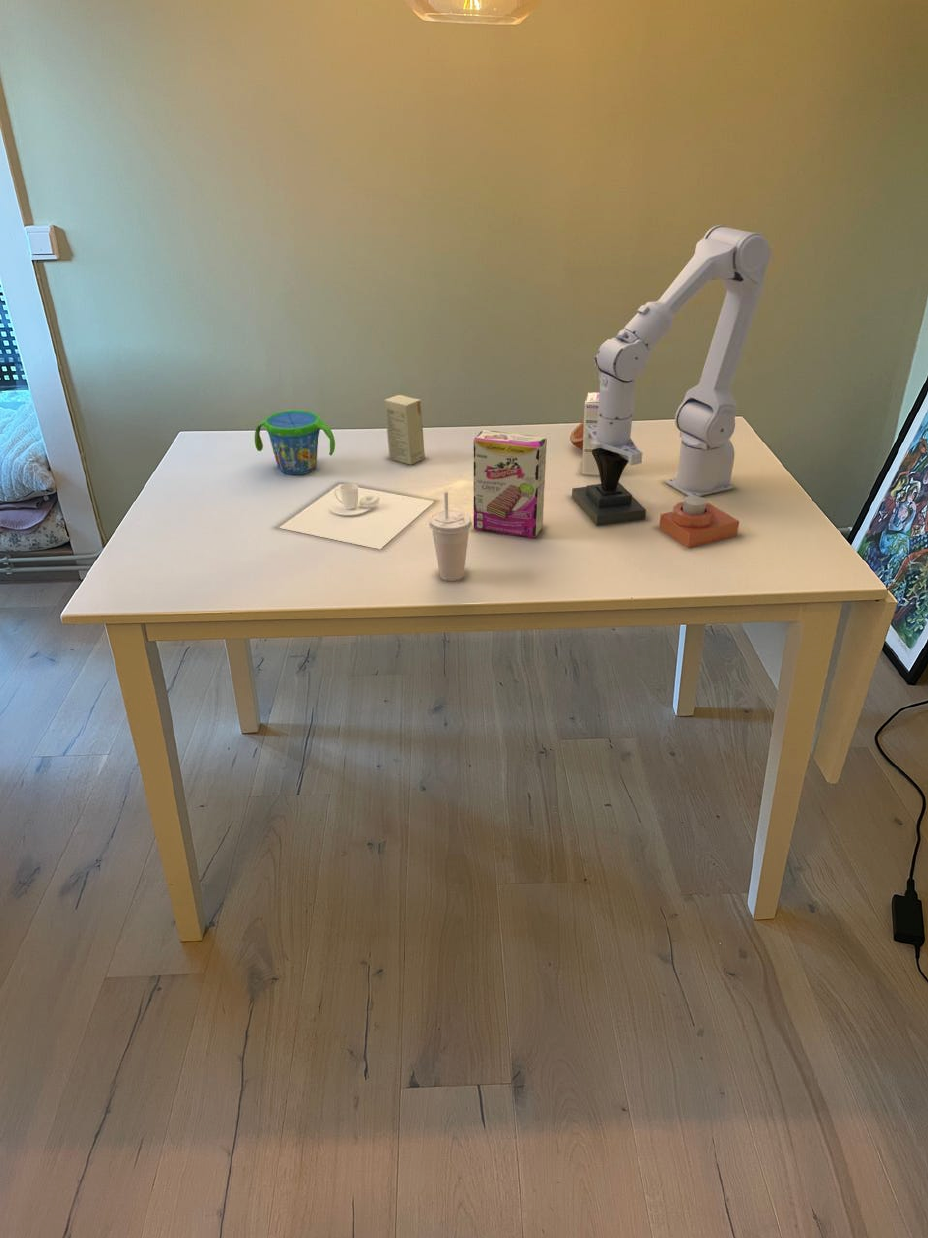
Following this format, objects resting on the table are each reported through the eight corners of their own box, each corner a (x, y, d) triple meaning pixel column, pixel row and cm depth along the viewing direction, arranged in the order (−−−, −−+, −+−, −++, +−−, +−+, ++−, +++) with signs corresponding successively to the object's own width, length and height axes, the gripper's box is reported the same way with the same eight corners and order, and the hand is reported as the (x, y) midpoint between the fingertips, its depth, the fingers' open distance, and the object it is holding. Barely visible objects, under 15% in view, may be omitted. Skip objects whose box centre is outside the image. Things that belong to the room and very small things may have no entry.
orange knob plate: (706, 516, 151) (710, 492, 148) (737, 535, 145) (741, 511, 142) (658, 528, 147) (661, 504, 145) (687, 548, 141) (691, 523, 139)
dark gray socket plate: (617, 491, 160) (619, 474, 158) (645, 519, 150) (647, 501, 148) (571, 497, 158) (572, 479, 156) (596, 526, 148) (598, 507, 146)
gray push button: (695, 505, 145) (697, 494, 144) (709, 513, 142) (711, 502, 141) (677, 509, 144) (679, 498, 143) (691, 518, 141) (692, 506, 140)
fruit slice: (605, 457, 174) (607, 433, 171) (572, 457, 174) (573, 433, 171) (599, 441, 181) (601, 418, 178) (567, 442, 181) (568, 419, 178)
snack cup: (345, 462, 174) (340, 412, 168) (324, 482, 165) (318, 431, 160) (274, 455, 178) (267, 406, 172) (249, 475, 169) (241, 424, 164)
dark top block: (613, 493, 155) (614, 484, 154) (620, 500, 152) (621, 491, 151) (596, 495, 154) (597, 486, 153) (603, 502, 151) (604, 493, 151)
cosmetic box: (425, 459, 174) (423, 399, 168) (410, 465, 172) (407, 405, 165) (402, 451, 178) (399, 393, 171) (387, 458, 175) (383, 398, 169)
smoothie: (430, 566, 137) (426, 484, 130) (470, 563, 138) (469, 482, 130) (432, 586, 132) (429, 502, 125) (474, 584, 132) (473, 500, 125)
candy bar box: (472, 531, 147) (471, 439, 139) (481, 518, 151) (481, 428, 143) (536, 540, 144) (539, 446, 135) (544, 527, 148) (547, 435, 139)
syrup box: (611, 476, 166) (617, 402, 158) (580, 474, 167) (584, 400, 159) (613, 465, 170) (619, 392, 163) (582, 463, 172) (587, 391, 164)
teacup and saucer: (385, 503, 157) (383, 482, 155) (362, 521, 151) (361, 499, 149) (343, 495, 160) (341, 474, 158) (320, 512, 154) (317, 491, 152)
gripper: (572, 404, 149) (568, 478, 156) (619, 431, 138) (612, 509, 145) (607, 398, 151) (601, 471, 159) (656, 424, 140) (647, 501, 148)
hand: (608, 489), depth 152 cm, fingers closed, pressing on dark top block
